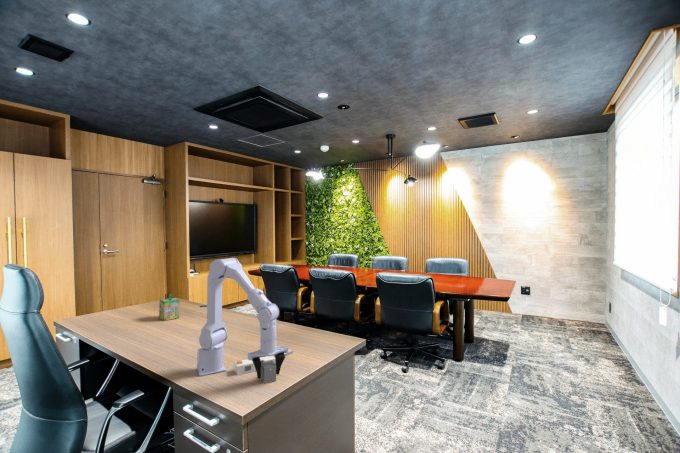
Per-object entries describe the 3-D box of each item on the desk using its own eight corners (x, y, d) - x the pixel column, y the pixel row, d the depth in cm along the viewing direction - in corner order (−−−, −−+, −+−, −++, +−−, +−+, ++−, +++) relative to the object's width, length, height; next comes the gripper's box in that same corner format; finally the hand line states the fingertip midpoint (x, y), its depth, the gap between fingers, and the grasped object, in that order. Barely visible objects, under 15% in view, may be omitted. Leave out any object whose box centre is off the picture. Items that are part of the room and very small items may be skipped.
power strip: (237, 375, 123) (237, 364, 123) (234, 370, 128) (234, 360, 128) (285, 364, 133) (285, 355, 133) (281, 360, 137) (281, 351, 137)
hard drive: (293, 350, 146) (273, 344, 153) (279, 356, 139) (260, 349, 146) (293, 354, 146) (273, 348, 153) (279, 360, 139) (259, 353, 146)
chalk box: (158, 318, 202) (158, 294, 202) (174, 315, 208) (175, 292, 208) (163, 321, 195) (163, 296, 195) (179, 318, 201) (179, 294, 201)
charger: (264, 383, 116) (264, 367, 116) (259, 375, 122) (259, 361, 122) (276, 380, 118) (276, 365, 118) (270, 373, 124) (270, 358, 124)
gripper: (251, 345, 113) (251, 385, 112) (291, 338, 120) (291, 375, 120) (246, 339, 119) (246, 376, 119) (284, 333, 126) (284, 368, 126)
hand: (268, 375), depth 120 cm, fingers open, 6 cm apart
